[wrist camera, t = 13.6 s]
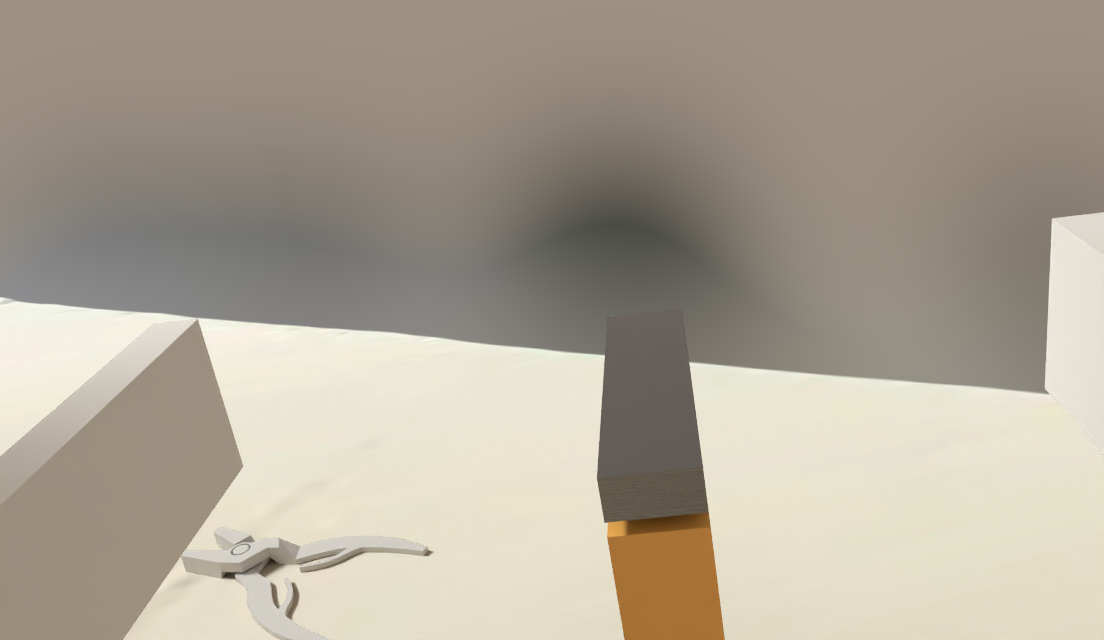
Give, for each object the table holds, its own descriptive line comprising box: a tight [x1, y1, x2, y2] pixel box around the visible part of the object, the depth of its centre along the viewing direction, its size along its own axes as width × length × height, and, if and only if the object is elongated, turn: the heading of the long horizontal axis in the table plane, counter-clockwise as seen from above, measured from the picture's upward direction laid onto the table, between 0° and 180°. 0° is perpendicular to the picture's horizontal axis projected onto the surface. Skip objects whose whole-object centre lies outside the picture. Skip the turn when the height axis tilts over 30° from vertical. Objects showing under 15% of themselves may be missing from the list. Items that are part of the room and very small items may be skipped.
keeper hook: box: [597, 308, 709, 523], centre depth 37 cm, size 3×12×19 cm, turn 176°
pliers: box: [181, 527, 428, 640], centre depth 60 cm, size 10×2×15 cm
